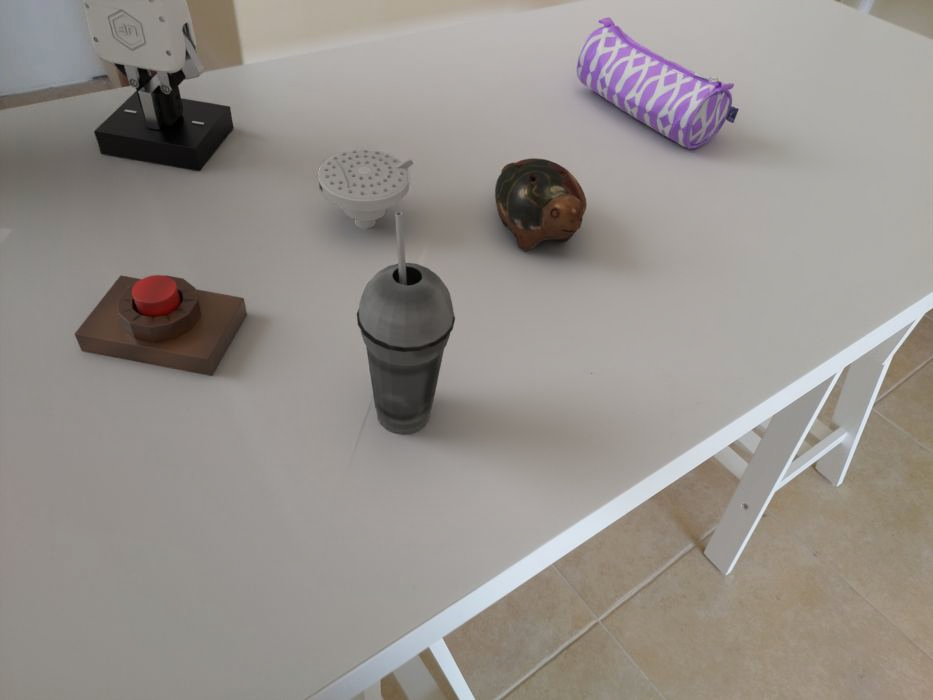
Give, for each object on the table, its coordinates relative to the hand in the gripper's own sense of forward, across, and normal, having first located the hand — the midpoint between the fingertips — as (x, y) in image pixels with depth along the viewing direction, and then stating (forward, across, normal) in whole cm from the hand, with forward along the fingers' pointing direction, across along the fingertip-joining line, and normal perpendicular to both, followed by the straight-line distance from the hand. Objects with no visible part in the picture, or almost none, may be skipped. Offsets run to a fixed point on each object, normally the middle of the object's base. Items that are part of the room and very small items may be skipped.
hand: (164, 117), depth 86 cm
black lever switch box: (+3, 0, 0) cm, 3 cm away
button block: (+3, +15, -29) cm, 33 cm away
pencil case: (+3, +56, +28) cm, 62 cm away
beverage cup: (+3, +38, -32) cm, 50 cm away
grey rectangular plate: (0, 0, 0) cm, 0 cm away
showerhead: (+3, +27, -8) cm, 29 cm away
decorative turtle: (+3, +45, -3) cm, 45 cm away
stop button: (0, +15, -29) cm, 33 cm away
